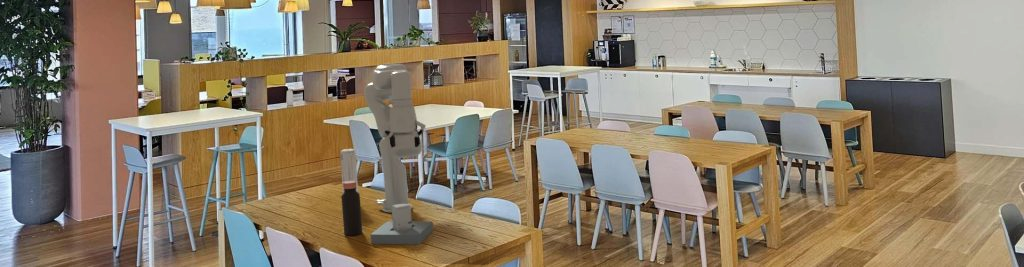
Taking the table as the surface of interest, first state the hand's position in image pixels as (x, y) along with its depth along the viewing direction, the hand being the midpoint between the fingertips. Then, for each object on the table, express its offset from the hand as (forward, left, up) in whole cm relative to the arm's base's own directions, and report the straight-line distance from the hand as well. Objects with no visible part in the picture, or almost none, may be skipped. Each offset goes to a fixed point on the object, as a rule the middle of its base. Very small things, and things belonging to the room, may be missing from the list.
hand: (405, 146), depth 301 cm
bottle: (-17, -17, -31) cm, 39 cm away
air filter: (-35, +26, -31) cm, 53 cm away
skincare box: (+4, -21, -31) cm, 37 cm away
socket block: (+4, -21, -30) cm, 37 cm away
